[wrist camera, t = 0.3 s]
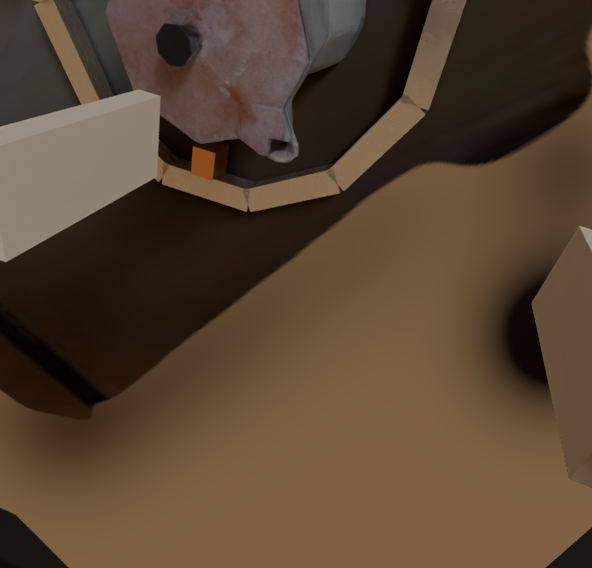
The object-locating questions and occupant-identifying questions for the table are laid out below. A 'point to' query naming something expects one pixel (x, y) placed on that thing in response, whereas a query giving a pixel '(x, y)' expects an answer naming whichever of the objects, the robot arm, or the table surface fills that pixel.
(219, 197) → the indicator ring
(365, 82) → the table surface
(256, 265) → the table surface
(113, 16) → the moka pot
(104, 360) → the table surface
